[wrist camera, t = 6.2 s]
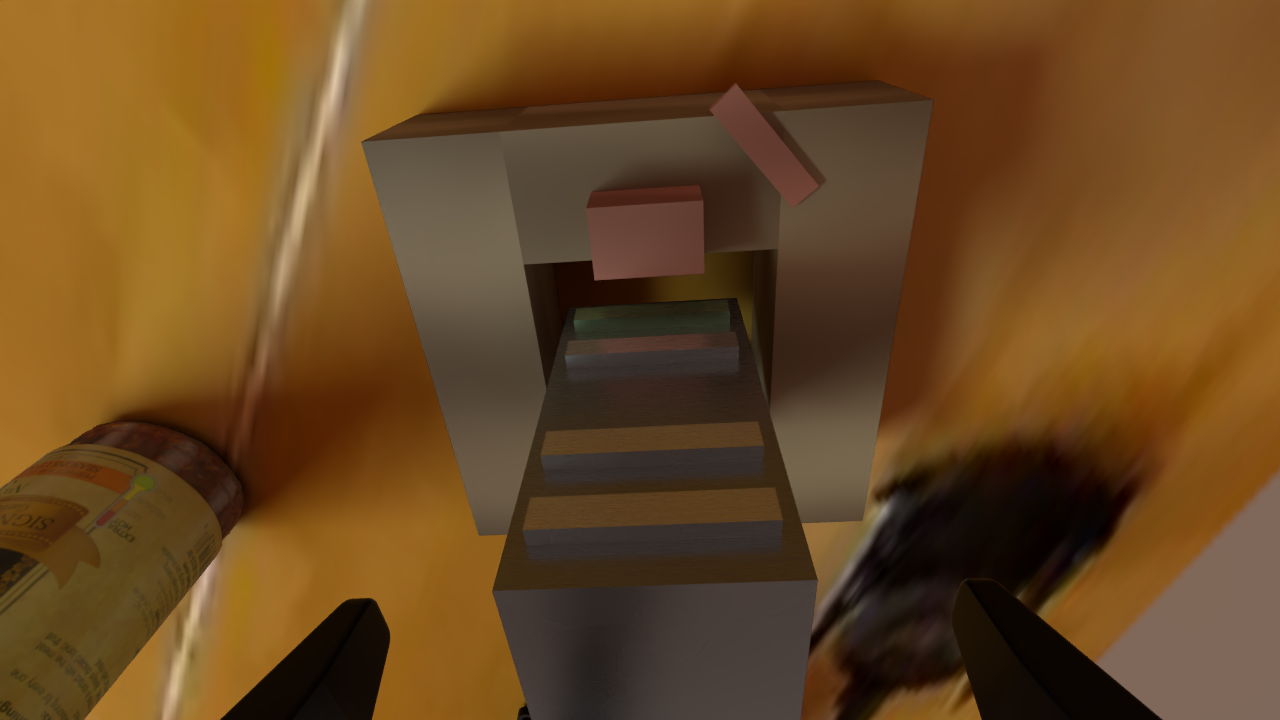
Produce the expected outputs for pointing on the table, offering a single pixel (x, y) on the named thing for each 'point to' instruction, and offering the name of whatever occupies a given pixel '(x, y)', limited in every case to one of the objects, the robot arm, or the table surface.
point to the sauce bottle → (101, 559)
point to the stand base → (661, 255)
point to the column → (657, 528)
